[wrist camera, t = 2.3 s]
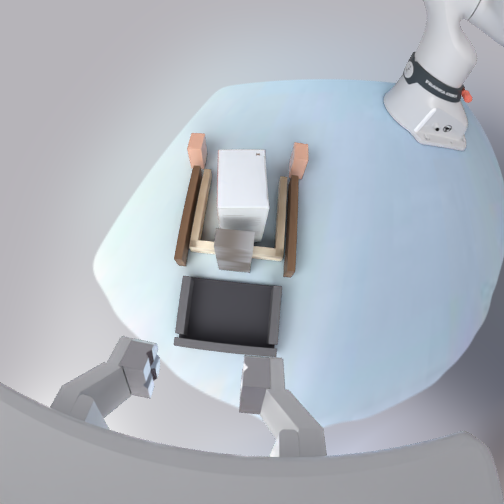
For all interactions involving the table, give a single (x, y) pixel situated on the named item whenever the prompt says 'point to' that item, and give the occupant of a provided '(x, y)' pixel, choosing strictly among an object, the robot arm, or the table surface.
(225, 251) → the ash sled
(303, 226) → the table surface
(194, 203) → the walnut channel
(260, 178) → the small box
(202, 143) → the posts
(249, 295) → the dark grey tray
